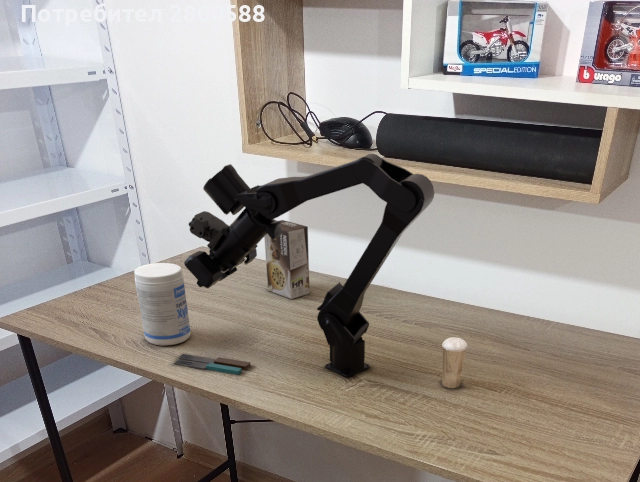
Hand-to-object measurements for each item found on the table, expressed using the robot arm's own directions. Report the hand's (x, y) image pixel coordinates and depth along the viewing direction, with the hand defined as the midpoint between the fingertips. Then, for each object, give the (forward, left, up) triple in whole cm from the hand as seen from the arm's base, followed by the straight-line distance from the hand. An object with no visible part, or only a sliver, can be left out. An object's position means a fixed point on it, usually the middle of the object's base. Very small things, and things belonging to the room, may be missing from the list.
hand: (199, 284), depth 136 cm
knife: (-9, +4, -13) cm, 16 cm away
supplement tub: (+8, +4, -13) cm, 16 cm away
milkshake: (-48, -22, -13) cm, 54 cm away
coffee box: (+11, -33, -13) cm, 37 cm away
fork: (-10, +7, -13) cm, 17 cm away
